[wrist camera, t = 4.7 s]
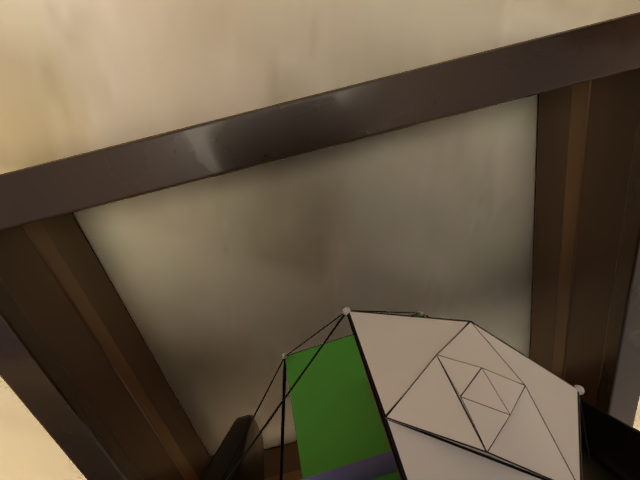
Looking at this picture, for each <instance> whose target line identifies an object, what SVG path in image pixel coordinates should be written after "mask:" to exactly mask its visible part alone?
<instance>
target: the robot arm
mask: <svg viewBox="0 0 640 480" xmlns="http://www.w3.org/2000/svg"><path fill="white" fill-rule="evenodd" d="M579 399H580V398H579ZM581 404H582V411H583V417H584V423H585V430H586V436H587V442H588V449H589V455H590V461H591V468H592V474H593V480H640V431H639V430H637V429H635V428H633V427H631V426H629V425H628V424H626V423H624V422H622V421H620V420H618V419H617V418H615V417H613V416H611V415H609V414H608V413H606V412H604V411H602V410H600V409H598V408H597V407H595V406H593V405H591V404H589V403H587V402H586V401H584V400H582V399H581ZM582 411H581V405H580V426H581V453H582V479H583V480H592V475H591V469H590V462H589V456H588V449H587V443H586V437H585V430H584V424H583V418H582ZM252 418H253V416H252V415H247V416H243V417H239V418H237V419H236V420H235V421H234V423H233V425H232V427H231V428H230V430H229V432H228V433H227V435H226V437H225V438H224V440H223V442H222V444H221V445H220V447H219V449H218V450H217V452H216V454H215V455H214V457H213V459H212V461H211V462H210V464H209V466H208V467H207V469H206V471H205V473H204V474H203V476H202V478H201V479H200V480H221V478H222V476H223V474H224V472H225V470H226V468H227V466H228V464H229V462H230V460H231V458H232V456H233V455H234V453H235V451H236V449H237V447H238V445H239V443H240V441H241V439H242V437H243V435H244V433H245V431H246V430H247V428H248V426H249V424H250V422H251V420H252ZM259 432H260V430H259V427H258V425H257V423H256V421H255V419H253V421H252V423H251V425H250V427H249V428H248V430H247V432H246V434H245V436H244V438H243V440H242V442H241V444H240V446H239V448H238V450H237V452H236V454H235V456H234V458H233V460H232V462H231V463H230V465H229V467H228V469H227V471H226V473H225V475H224V477H223V479H222V480H226V478H227V477H228V476H229V474H230V473H231V471H232V470H233V469H234V467H235V466H236V464H237V463H238V462H239V460H240V459H241V457H242V456H243V455H244V453H245V452H246V450H247V449H248V448H249V446H250V445H251V443H252V442H253V441H254V439H255V438H256V436H257V435H258V433H259ZM228 480H265V476H264V447H263V438H262V434H260V436H259V437H258V438H257V440H256V441H255V443H254V444H253V446H252V447H251V448H250V450H249V451H248V453H247V454H246V455H245V457H244V458H243V460H242V461H241V462H240V464H239V465H238V467H237V468H236V469H235V471H234V472H233V474H232V475H231V476H230V478H229V479H228Z"/></svg>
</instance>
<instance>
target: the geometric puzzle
mask: <svg viewBox="0 0 640 480" xmlns="http://www.w3.org/2000/svg"><path fill="white" fill-rule="evenodd" d="M374 312H386V311H358V310H351V309H350V308H348V307H345V308H344V309H343V313H342V314H341V315H342V317H341V318H340V320H339V321H338V322H337V324H336V325H335V327H334V328H333V330H332V331H331V332H330V334H329V335H328V337H327V338H326V339H325V341H324V342H323V344H321V345H318V346H315V347H312V348H308V349H305V350H302V351H299V352H296V353H293V354H290V353H291V352H292V351H294V350H295V349H296V348H295V349H294V350H292V351H291V352H290V353H288V354H290V355H288V354H283V355H282V358H283V360H284V367H283V395H282V401H281V403H280V404H279V405H278V407H277V408H276V410H275V411H274V412H273V414H272V415H271V417H270V418H269V419H268V421H267V422H266V424H265V425H264V426H263V428H262V429H261V431H260V432H259V433H258V435H257V436H256V438H255V439H254V441H253V442H252V443H251V445H250V446H249V448H248V449H247V450H246V452H245V453H244V455H243V456H242V457H241V459H240V460H239V462H238V463H237V464H236V466H235V467H234V469H233V470H232V471H231V473H230V474H229V476H228V477H227V478H226V480H228V479H229V478H230V476H231V475H232V474H233V472H234V471H235V469H236V468H237V467H238V465H239V464H240V462H241V461H242V460H243V458H244V457H245V455H246V454H247V453H248V451H249V450H250V448H251V447H252V446H253V444H254V443H255V441H256V440H257V438H258V437H259V436H260V434H261V433H262V431H263V430H264V429H265V427H266V426H267V424H268V423H269V422H270V420H271V419H272V417H273V416H274V415H275V413H276V412H277V410H278V409H279V408H280V406H281V405H282V423H281V451H280V479H279V480H283V451H284V421H285V399H286V398H287V396H288V395H289V393H290V396H291V403H292V410H293V417H294V423H295V430H296V437H297V443H298V450H299V457H300V463H301V470H302V477H303V479H301V480H583V479H582V453H581V426H580V405H581V411H582V404H581V398H580V395H582V394H584V392H585V391H584V388H583V387H582V386H580V385H574V386H573V385H571V384H570V383H568V382H566V381H565V380H563V379H562V378H560V377H559V376H557V375H555V374H554V373H552V372H551V371H549V370H547V369H546V368H544V367H543V366H541V365H540V364H538V363H536V362H535V361H533V360H532V359H530V358H528V357H527V356H525V355H524V354H522V353H520V352H519V351H517V350H516V349H514V348H513V347H511V346H509V345H508V344H506V343H505V342H503V341H501V340H500V339H498V338H497V337H495V336H494V335H492V334H490V333H489V332H487V331H486V330H484V329H482V328H481V327H479V326H478V325H476V324H475V323H473V322H471V321H465V320H454V319H442V318H431V317H428V316H427V317H424V316H423V315H424V314H423V312H422V311H419V312H418V313H417V314H414V315H411V316H408V315H397V314H386V313H374ZM392 313H415V312H392ZM341 315H340V316H341ZM345 315H346V316H347V317H348V320H349V323H350V326H351V329H352V332H353V334H352V335H349V336H346V337H343V338H340V339H336V340H333V341H330V342H327V343H326V341H327V340H328V339H329V337H330V336H331V334H332V333H333V332H334V330H335V329H336V327H337V326H338V324H339V323H340V322H341V320H342V319H343V317H344V316H345ZM340 316H338V317H337V318H339V317H340ZM425 316H426V315H425ZM337 318H336V319H337ZM336 319H334V320H333V321H335V320H336ZM333 321H332V322H333ZM332 322H330V323H329V324H331V323H332ZM329 324H328V325H329ZM328 325H326V326H328ZM326 326H325V327H326ZM325 327H324V328H325ZM324 328H322V329H324ZM322 329H321V330H322ZM321 330H319V331H318V332H320V331H321ZM318 332H317V333H318ZM317 333H315V334H314V335H316V334H317ZM314 335H313V336H314ZM313 336H311V337H313ZM311 337H310V338H311ZM310 338H309V339H310ZM309 339H307V340H309ZM307 340H306V341H307ZM306 341H305V342H306ZM305 342H303V343H305ZM303 343H302V344H303ZM302 344H301V345H302ZM301 345H299V346H301ZM299 346H298V347H299ZM298 347H297V348H298ZM283 360H282V362H283ZM282 362H281V364H282ZM281 364H280V366H281ZM280 366H279V368H280ZM279 368H278V370H279ZM278 370H277V372H278ZM286 370H287V376H288V383H289V391H288V393H287V394H286V396H285V391H286ZM277 372H276V374H277ZM276 374H275V376H276ZM275 376H274V378H275ZM274 378H273V380H274ZM273 380H272V381H271V383H270V385H269V387H268V389H267V391H266V393H265V395H266V394H267V392H268V390H269V388H270V386H271V384H272V382H273ZM265 395H264V397H265ZM264 397H263V399H264ZM579 398H580V399H579ZM263 399H262V401H263ZM262 401H261V403H262ZM261 403H260V405H261ZM260 405H259V406H258V408H257V410H256V412H255V414H254V416H253V418H252V420H251V422H250V424H249V426H248V428H249V427H250V425H251V423H252V421H253V419H254V417H255V415H256V413H257V411H258V409H259V407H260ZM582 418H583V424H584V430H585V423H584V417H583V411H582ZM248 428H247V430H248ZM247 430H246V431H245V433H244V435H243V437H242V439H241V441H240V443H239V445H238V447H237V449H236V451H235V453H234V455H233V456H232V458H231V460H230V462H229V464H228V466H227V468H226V470H225V472H224V474H223V476H222V478H221V480H222V479H223V477H224V475H225V473H226V471H227V469H228V467H229V465H230V463H231V462H232V460H233V458H234V456H235V454H236V452H237V450H238V448H239V446H240V444H241V442H242V440H243V438H244V436H245V434H246V432H247ZM585 437H586V443H587V449H588V442H587V436H586V430H585ZM588 456H589V462H590V469H591V475H592V480H593V474H592V468H591V461H590V455H589V449H588Z"/></svg>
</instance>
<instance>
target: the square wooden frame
mask: <svg viewBox="0 0 640 480" xmlns="http://www.w3.org/2000/svg"><path fill="white" fill-rule="evenodd" d="M536 94H539V110H538V140H537V170H536V201H535V231H534V261H533V291H532V321H531V351H530V359H532V360H533V361H535V362H536V363H538V364H540V365H541V366H543V367H544V368H546V369H547V370H549V371H551V372H552V373H554V374H555V375H557V376H559V377H560V378H562V379H563V380H565V381H566V382H568V383H570V384H571V385H573V386H574V385H580V386H582V387H583V388H584V391H585V392H584V394H582V395H580V398H581V399H582V400H584V401H586V402H587V403H589V404H591V405H593V406H595V407H597V408H598V409H600V410H602V411H604V412H606V413H608V414H609V415H611V416H613V417H615V418H617V419H618V420H620V421H622V422H624V423H626V424H628V425H629V426H631V427H633V424H634V419H635V415H636V410H637V406H638V401H639V397H640V12H638V13H634V14H630V15H626V16H622V17H618V18H614V19H610V20H606V21H603V22H599V23H595V24H591V25H587V26H583V27H579V28H575V29H571V30H567V31H563V32H559V33H555V34H551V35H547V36H543V37H540V38H536V39H532V40H528V41H524V42H520V43H516V44H512V45H508V46H504V47H500V48H496V49H492V50H488V51H484V52H481V53H477V54H473V55H469V56H465V57H461V58H457V59H453V60H449V61H445V62H441V63H437V64H433V65H429V66H425V67H422V68H418V69H414V70H410V71H406V72H402V73H398V74H394V75H390V76H386V77H382V78H378V79H374V80H370V81H366V82H362V83H359V84H355V85H351V86H347V87H343V88H339V89H335V90H331V91H327V92H323V93H319V94H315V95H311V96H307V97H303V98H300V99H296V100H292V101H288V102H284V103H280V104H276V105H272V106H268V107H264V108H260V109H256V110H252V111H248V112H244V113H241V114H237V115H233V116H229V117H225V118H221V119H217V120H213V121H209V122H205V123H201V124H197V125H193V126H189V127H185V128H181V129H178V130H174V131H170V132H166V133H162V134H158V135H154V136H150V137H146V138H142V139H138V140H134V141H130V142H126V143H122V144H119V145H115V146H111V147H107V148H103V149H99V150H95V151H91V152H87V153H83V154H79V155H75V156H71V157H67V158H63V159H60V160H56V161H52V162H48V163H44V164H40V165H36V166H32V167H28V168H24V169H20V170H16V171H12V172H8V173H4V174H0V376H1V377H2V378H3V379H4V381H5V382H6V383H7V384H8V385H9V387H10V388H11V389H12V390H13V391H14V393H15V394H16V395H17V396H18V397H19V399H20V400H21V401H22V402H23V403H24V405H25V406H26V407H27V408H28V409H29V411H30V412H31V413H32V414H33V415H34V417H35V418H36V419H37V420H38V421H39V423H40V424H41V425H42V426H43V427H44V429H45V430H46V431H47V432H48V433H49V434H50V436H51V437H52V438H53V439H54V440H55V442H56V443H57V444H58V445H59V446H60V448H61V449H62V450H63V451H64V452H65V454H66V455H67V456H68V457H69V458H70V460H71V461H72V462H73V463H74V464H75V466H76V467H77V468H78V469H79V470H80V472H81V473H82V474H83V475H84V476H85V478H86V479H87V480H200V479H201V478H202V476H203V474H204V473H205V471H206V469H207V467H208V466H209V464H210V462H211V459H210V457H209V455H208V454H207V452H206V450H205V448H204V446H203V445H202V443H201V441H200V439H199V438H198V436H197V434H196V432H195V431H194V429H193V427H192V425H191V424H190V422H189V420H188V418H187V417H186V415H185V413H184V411H183V409H182V408H181V406H180V404H179V402H178V401H177V399H176V397H175V395H174V394H173V392H172V390H171V388H170V387H169V385H168V383H167V381H166V380H165V378H164V376H163V374H162V373H161V371H160V369H159V367H158V365H157V364H156V362H155V360H154V358H153V357H152V355H151V353H150V351H149V350H148V348H147V346H146V344H145V343H144V341H143V339H142V337H141V336H140V334H139V332H138V330H137V328H136V327H135V325H134V323H133V321H132V320H131V318H130V316H129V314H128V313H127V311H126V309H125V307H124V306H123V304H122V302H121V300H120V299H119V297H118V295H117V293H116V292H115V290H114V288H113V286H112V284H111V283H110V281H109V279H108V277H107V276H106V274H105V272H104V270H103V269H102V267H101V265H100V263H99V262H98V260H97V258H96V256H95V255H94V253H93V251H92V249H91V247H90V246H89V244H88V242H87V240H86V239H85V237H84V235H83V233H82V232H81V230H80V228H79V226H78V225H77V223H76V221H75V219H74V218H73V216H72V214H71V213H73V212H77V211H81V210H85V209H89V208H93V207H97V206H101V205H104V204H108V203H112V202H116V201H120V200H124V199H128V198H132V197H136V196H140V195H144V194H148V193H152V192H155V191H159V190H163V189H167V188H171V187H175V186H179V185H183V184H187V183H191V182H195V181H199V180H203V179H206V178H210V177H214V176H218V175H222V174H226V173H230V172H234V171H238V170H242V169H246V168H250V167H254V166H257V165H261V164H265V163H269V162H273V161H277V160H281V159H285V158H289V157H293V156H297V155H301V154H305V153H308V152H312V151H316V150H320V149H324V148H328V147H332V146H336V145H340V144H344V143H348V142H352V141H356V140H359V139H363V138H367V137H371V136H375V135H379V134H383V133H387V132H391V131H395V130H399V129H403V128H407V127H410V126H414V125H418V124H422V123H426V122H430V121H434V120H438V119H442V118H446V117H450V116H454V115H458V114H461V113H465V112H469V111H473V110H477V109H481V108H485V107H489V106H493V105H497V104H501V103H505V102H509V101H513V100H516V99H520V98H524V97H528V96H532V95H536ZM280 451H281V446H280V447H276V448H272V449H269V450H265V451H264V476H265V480H279V479H280ZM301 479H303V477H302V470H301V463H300V457H299V450H298V443H297V442H296V443H292V444H288V445H284V451H283V480H301Z"/></svg>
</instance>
